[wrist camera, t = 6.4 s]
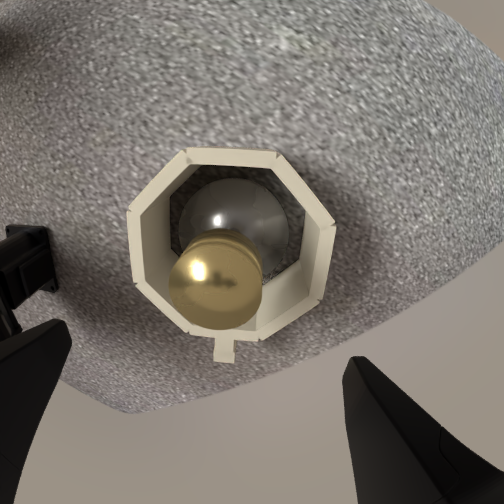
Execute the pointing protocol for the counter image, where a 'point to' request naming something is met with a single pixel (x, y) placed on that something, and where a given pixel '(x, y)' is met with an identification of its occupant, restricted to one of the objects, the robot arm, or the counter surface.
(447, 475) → the robot arm
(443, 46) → the counter surface
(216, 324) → the plunger
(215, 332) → the cream octagonal ring
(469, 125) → the counter surface
